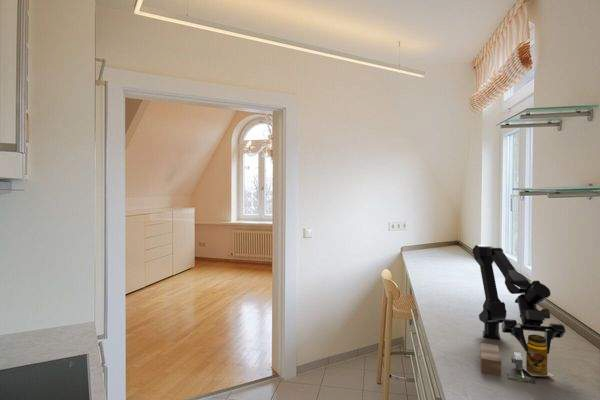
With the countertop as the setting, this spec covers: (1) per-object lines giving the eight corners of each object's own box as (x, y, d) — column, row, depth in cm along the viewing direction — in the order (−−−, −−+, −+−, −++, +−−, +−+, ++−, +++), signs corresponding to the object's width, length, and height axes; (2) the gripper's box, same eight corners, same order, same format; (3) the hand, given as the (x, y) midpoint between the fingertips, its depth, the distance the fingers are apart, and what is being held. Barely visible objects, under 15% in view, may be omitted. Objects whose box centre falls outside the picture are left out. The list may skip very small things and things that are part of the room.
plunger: (510, 362, 134) (510, 351, 134) (519, 364, 133) (520, 352, 133) (513, 376, 124) (513, 364, 124) (524, 378, 123) (524, 366, 123)
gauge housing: (480, 355, 142) (480, 342, 141) (529, 363, 135) (529, 350, 135) (481, 373, 128) (481, 359, 128) (535, 383, 121) (536, 368, 121)
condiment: (532, 376, 124) (532, 340, 124) (517, 364, 133) (518, 331, 132) (554, 376, 124) (554, 341, 124) (538, 364, 132) (539, 331, 132)
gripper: (503, 296, 134) (511, 339, 124) (564, 301, 128) (577, 346, 118) (498, 311, 142) (505, 352, 132) (555, 316, 136) (566, 359, 126)
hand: (537, 352), depth 127 cm, fingers closed on condiment, 6 cm apart
